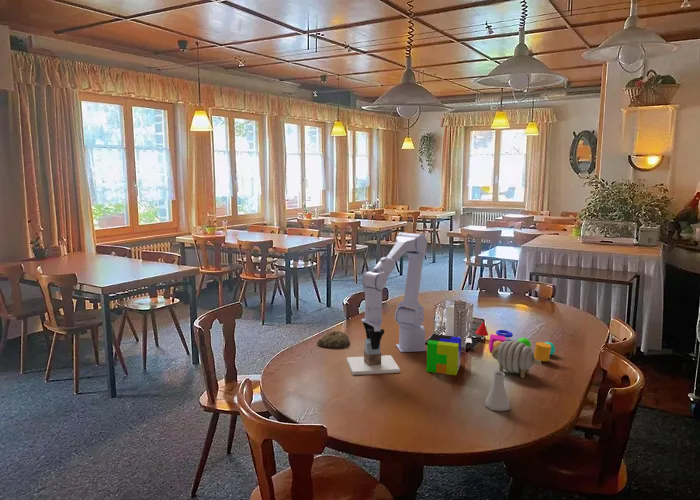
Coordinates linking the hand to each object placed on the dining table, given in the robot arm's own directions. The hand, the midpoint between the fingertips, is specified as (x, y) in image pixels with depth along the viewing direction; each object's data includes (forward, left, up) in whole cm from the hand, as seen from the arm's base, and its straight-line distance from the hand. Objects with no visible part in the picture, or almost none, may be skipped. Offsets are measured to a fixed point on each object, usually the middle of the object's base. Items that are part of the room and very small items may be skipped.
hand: (372, 345), depth 181 cm
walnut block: (0, 0, -6) cm, 6 cm away
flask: (-30, +35, -8) cm, 46 cm away
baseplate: (0, 0, -8) cm, 8 cm away
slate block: (0, 0, -2) cm, 2 cm away
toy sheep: (-46, +13, -8) cm, 48 cm away
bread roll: (+10, -26, -8) cm, 29 cm away
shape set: (-53, -9, -8) cm, 54 cm away
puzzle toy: (-24, +5, -8) cm, 26 cm away
